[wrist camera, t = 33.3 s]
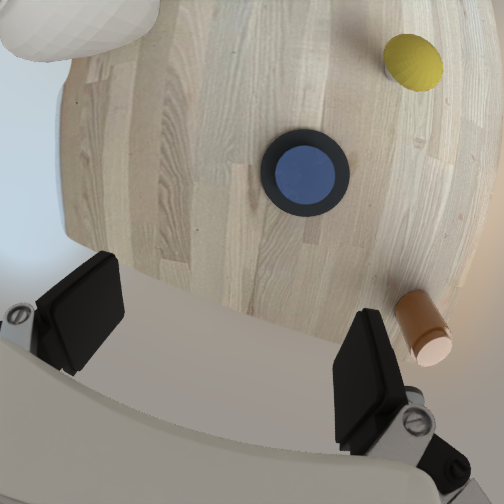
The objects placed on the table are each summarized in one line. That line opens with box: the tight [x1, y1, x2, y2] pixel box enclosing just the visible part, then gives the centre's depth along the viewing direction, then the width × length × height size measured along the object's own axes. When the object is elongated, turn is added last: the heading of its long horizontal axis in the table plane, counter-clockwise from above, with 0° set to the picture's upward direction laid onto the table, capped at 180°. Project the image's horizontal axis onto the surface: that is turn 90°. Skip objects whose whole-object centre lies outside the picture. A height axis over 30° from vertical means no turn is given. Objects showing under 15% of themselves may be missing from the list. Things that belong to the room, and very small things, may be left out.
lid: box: [275, 145, 335, 204], centre depth 31 cm, size 7×7×2 cm
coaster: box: [261, 130, 350, 217], centre depth 32 cm, size 11×11×1 cm
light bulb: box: [384, 34, 443, 92], centre depth 20 cm, size 7×7×10 cm
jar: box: [395, 290, 452, 367], centre depth 32 cm, size 7×7×11 cm
